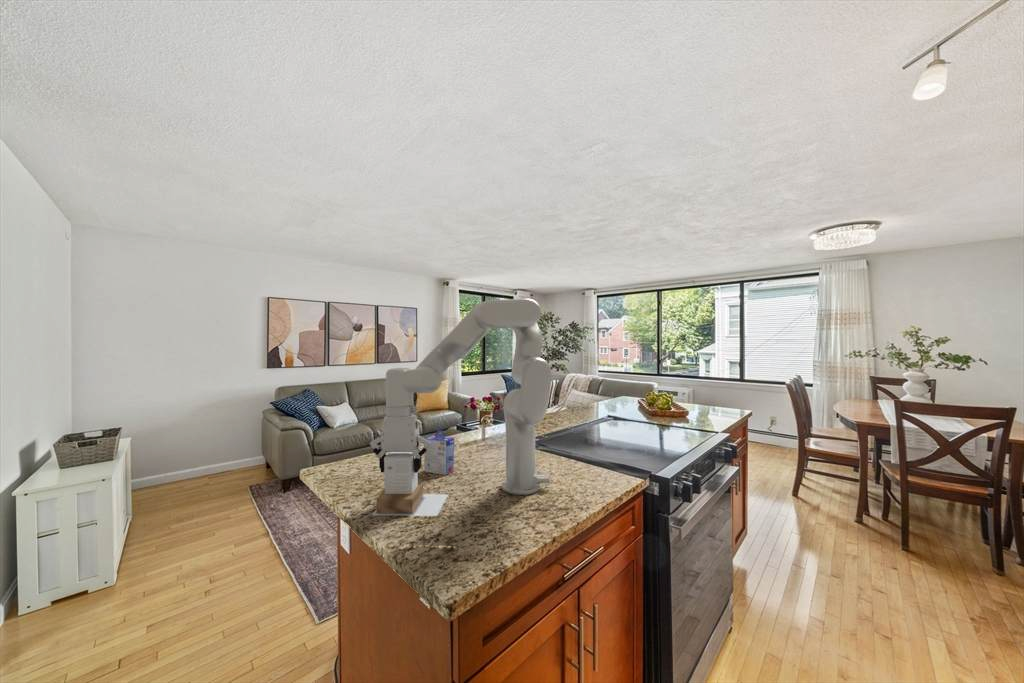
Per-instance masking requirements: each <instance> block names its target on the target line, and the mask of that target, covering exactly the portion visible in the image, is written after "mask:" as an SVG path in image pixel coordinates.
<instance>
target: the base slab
mask: <svg viewBox="0 0 1024 683" xmlns="http://www.w3.org/2000/svg"><path fill="white" fill-rule="evenodd" d="M423 494H424V484H418V487H417V488H416V489H415V491H414V492H413V493H412V494H385V489H384V490H383V491H382V492H381V493H380V494H379V495H378V496H377V497H376V499H375V500H376V501H375V502H376V509H377V513H405V514H413V512H414V511H415V509H416V508H417V506H418V505H419V503H420V502H421V500H422V499H423Z"/></svg>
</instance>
